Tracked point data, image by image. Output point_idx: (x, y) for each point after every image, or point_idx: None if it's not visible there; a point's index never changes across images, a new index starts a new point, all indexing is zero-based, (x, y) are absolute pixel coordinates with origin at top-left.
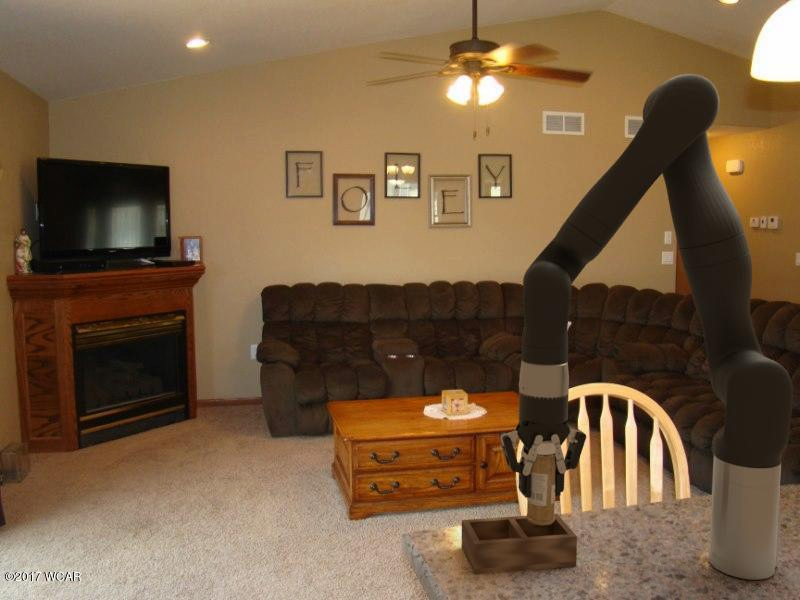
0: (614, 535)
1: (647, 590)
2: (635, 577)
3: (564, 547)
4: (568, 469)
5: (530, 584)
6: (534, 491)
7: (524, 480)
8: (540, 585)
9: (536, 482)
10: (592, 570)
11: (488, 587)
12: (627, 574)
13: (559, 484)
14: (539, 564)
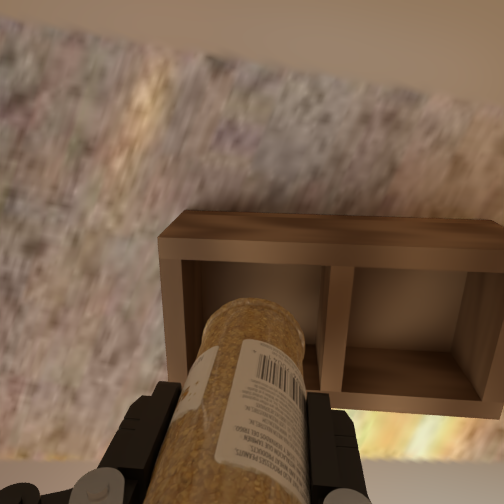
0: (32, 341)
1: (29, 40)
2: (41, 120)
3: (209, 228)
4: (58, 492)
5: (353, 135)
6: (292, 401)
7: (343, 470)
8: (326, 124)
9: (284, 436)
10: (148, 180)
11: (485, 140)
12: (58, 141)
13: (148, 419)
14: (293, 217)
